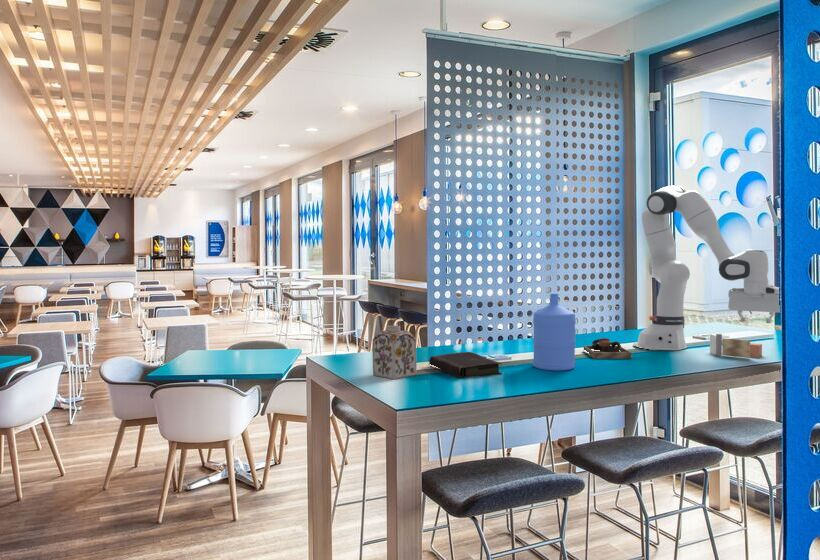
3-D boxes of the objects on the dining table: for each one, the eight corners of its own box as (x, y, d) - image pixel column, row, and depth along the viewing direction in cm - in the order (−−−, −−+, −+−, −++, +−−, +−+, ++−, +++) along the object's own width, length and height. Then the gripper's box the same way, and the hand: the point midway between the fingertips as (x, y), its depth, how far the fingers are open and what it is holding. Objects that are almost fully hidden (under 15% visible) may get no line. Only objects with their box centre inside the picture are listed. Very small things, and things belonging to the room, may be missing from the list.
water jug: (576, 371, 232) (576, 295, 231) (532, 370, 235) (532, 295, 234) (574, 363, 247) (574, 292, 246) (533, 362, 251) (533, 292, 249)
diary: (458, 381, 223) (458, 366, 222) (429, 368, 246) (428, 355, 245) (504, 375, 230) (504, 361, 229) (471, 363, 253) (471, 351, 252)
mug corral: (593, 358, 258) (593, 352, 258) (583, 351, 275) (583, 345, 275) (631, 358, 257) (631, 352, 257) (619, 351, 275) (619, 345, 274)
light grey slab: (717, 356, 261) (717, 334, 260) (709, 352, 269) (709, 331, 268) (721, 356, 261) (721, 334, 260) (713, 352, 269) (713, 331, 268)
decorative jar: (371, 375, 230) (371, 326, 229) (395, 370, 238) (394, 323, 237) (394, 380, 221) (393, 329, 220) (417, 375, 229) (417, 325, 228)
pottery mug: (592, 358, 262) (588, 339, 266) (596, 364, 270) (592, 346, 274) (621, 352, 258) (617, 333, 262) (625, 358, 266) (620, 340, 270)
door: (722, 355, 260) (722, 338, 260) (723, 354, 262) (724, 337, 261) (748, 358, 253) (749, 340, 253) (750, 357, 255) (750, 340, 255)
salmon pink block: (758, 357, 257) (759, 345, 257) (747, 356, 260) (747, 344, 260) (761, 356, 260) (762, 344, 260) (749, 354, 263) (750, 342, 263)
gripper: (726, 288, 263) (726, 321, 264) (782, 289, 249) (781, 324, 250) (730, 287, 268) (730, 320, 268) (785, 288, 254) (785, 323, 255)
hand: (755, 322), depth 259 cm, fingers open, 8 cm apart
